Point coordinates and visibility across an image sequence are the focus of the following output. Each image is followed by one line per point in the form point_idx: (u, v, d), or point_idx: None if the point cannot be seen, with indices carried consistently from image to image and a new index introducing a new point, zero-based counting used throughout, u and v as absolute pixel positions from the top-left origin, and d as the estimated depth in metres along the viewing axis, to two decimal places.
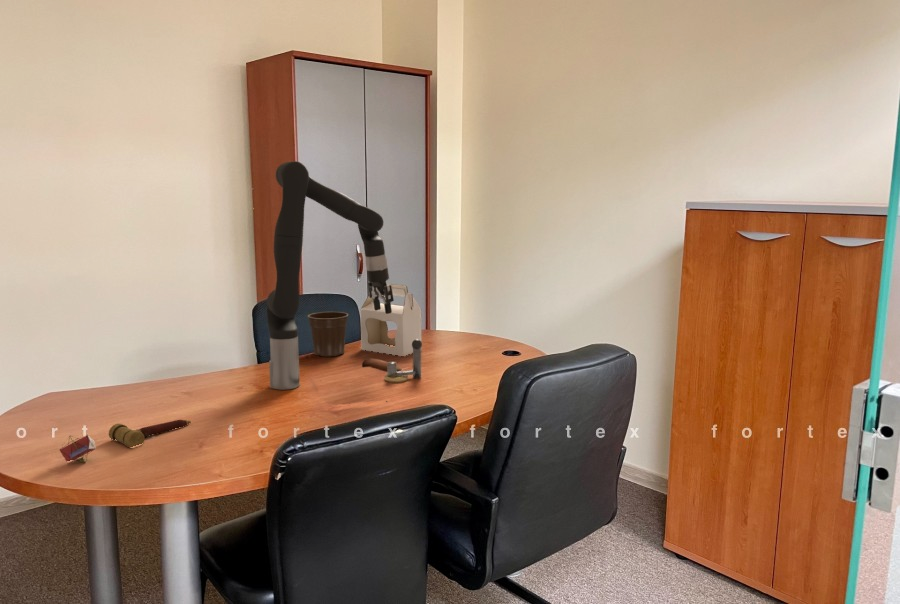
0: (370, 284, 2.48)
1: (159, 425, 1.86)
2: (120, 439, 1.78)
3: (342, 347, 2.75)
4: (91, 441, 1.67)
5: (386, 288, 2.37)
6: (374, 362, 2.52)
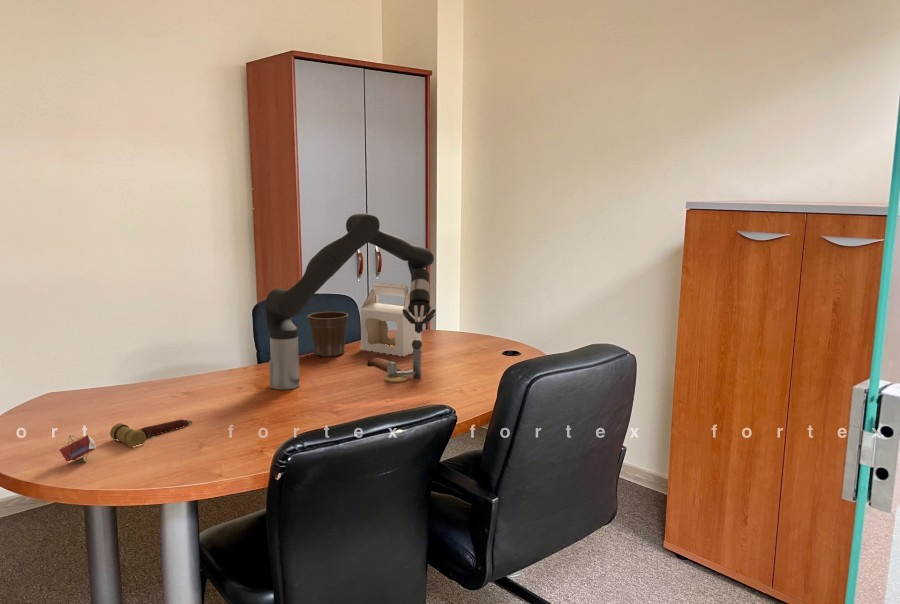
0: (405, 310, 2.54)
1: (160, 425, 1.86)
2: (121, 439, 1.78)
3: (342, 347, 2.75)
4: (91, 441, 1.67)
5: (434, 312, 2.54)
6: (377, 361, 2.53)
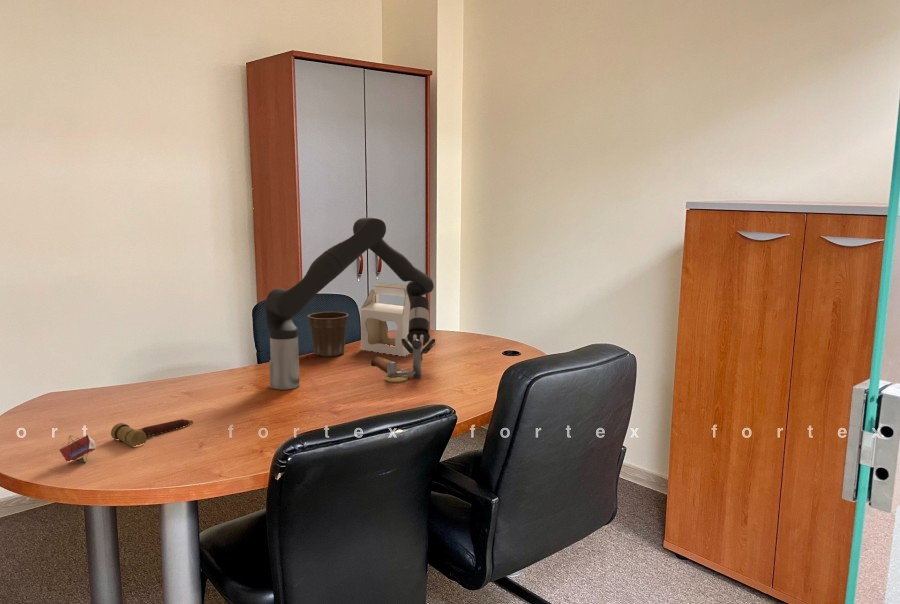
0: (404, 340, 2.48)
1: (161, 425, 1.86)
2: (122, 439, 1.78)
3: (342, 347, 2.75)
4: (91, 441, 1.67)
5: (434, 342, 2.47)
6: (378, 361, 2.54)
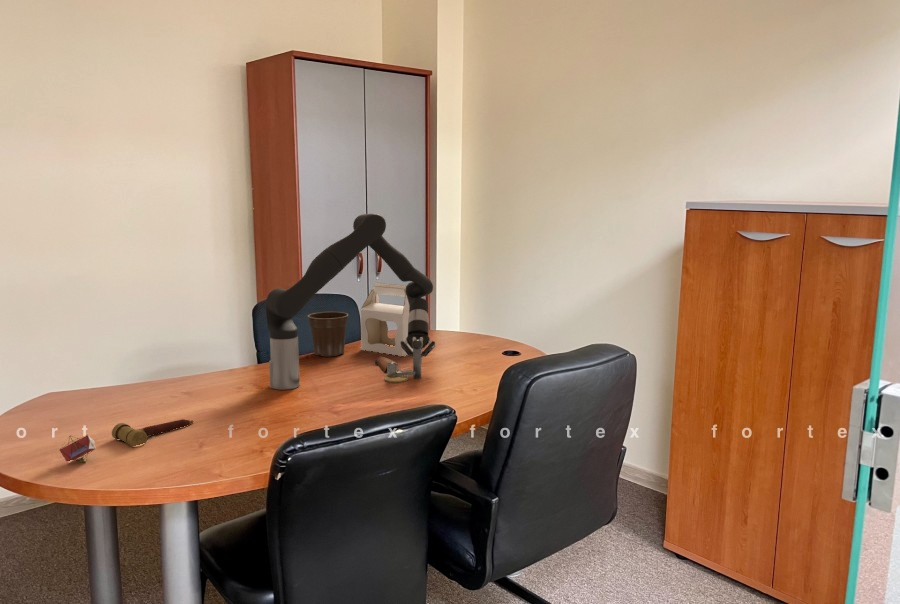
0: (404, 342, 2.44)
1: (162, 425, 1.87)
2: (122, 438, 1.78)
3: (342, 347, 2.75)
4: (91, 441, 1.67)
5: (434, 344, 2.43)
6: (380, 360, 2.55)
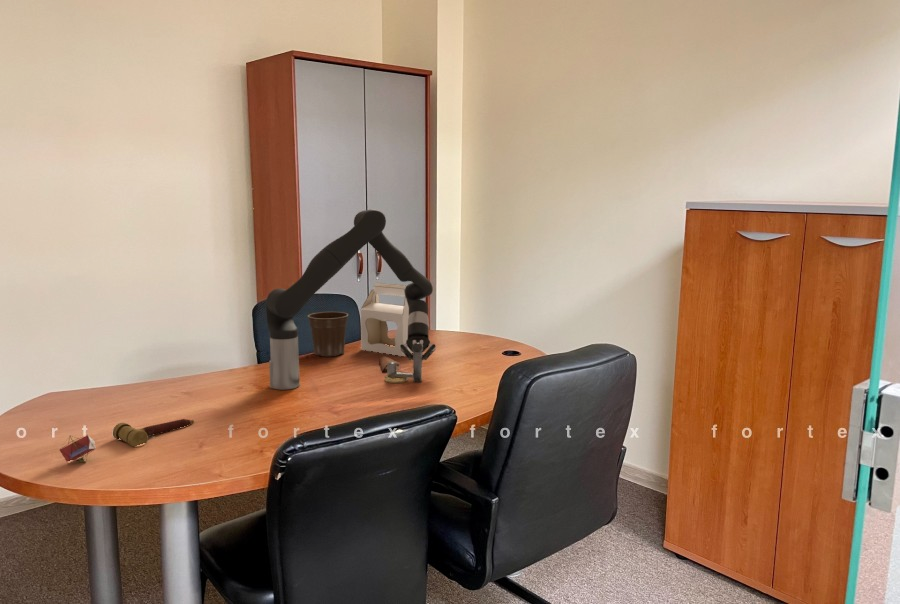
0: (403, 345, 2.39)
1: (163, 424, 1.87)
2: (123, 438, 1.78)
3: (342, 347, 2.75)
4: (91, 441, 1.67)
5: (434, 347, 2.39)
6: (382, 360, 2.55)
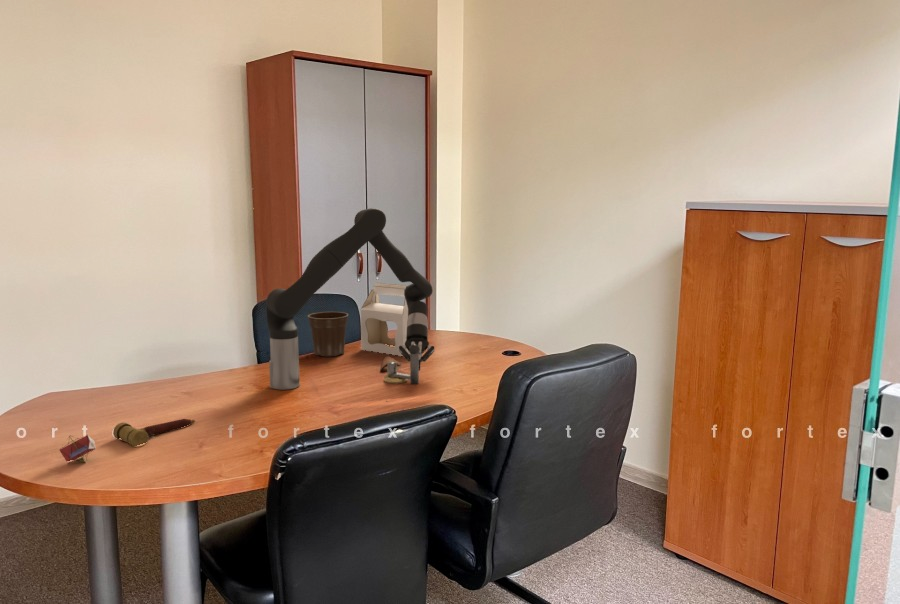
0: (402, 347, 2.37)
1: (163, 424, 1.87)
2: (124, 438, 1.79)
3: (342, 347, 2.75)
4: (91, 441, 1.67)
5: (433, 349, 2.36)
6: (384, 360, 2.55)
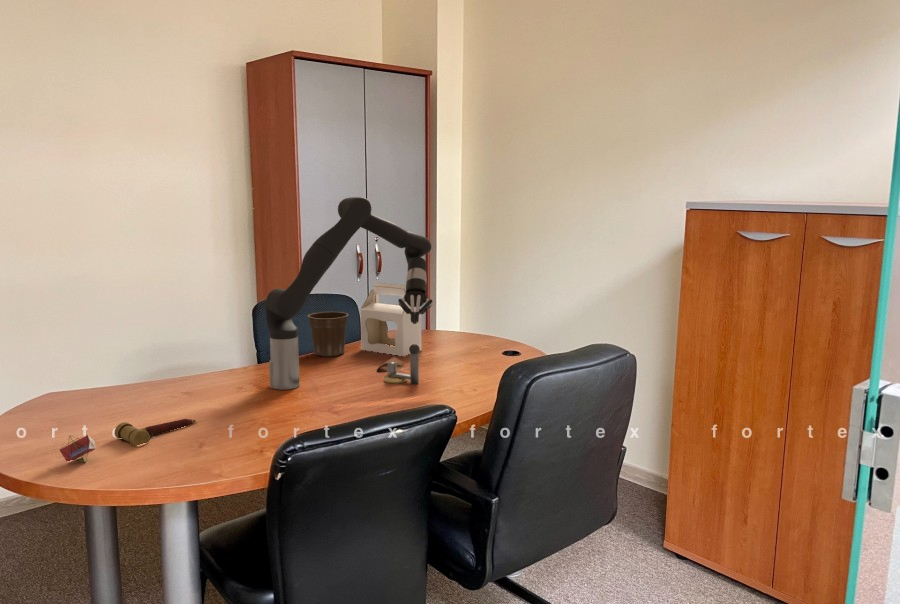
0: (401, 300, 2.46)
1: (164, 424, 1.87)
2: (125, 438, 1.79)
3: (342, 347, 2.75)
4: (91, 441, 1.67)
5: (431, 302, 2.46)
6: (388, 360, 2.56)
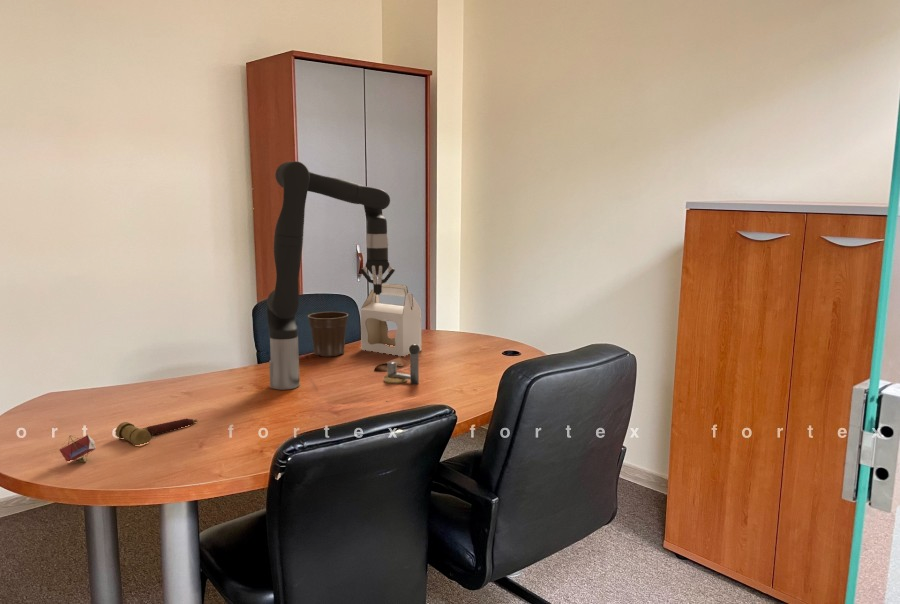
0: (363, 269, 2.43)
1: (166, 424, 1.87)
2: (126, 438, 1.79)
3: (342, 347, 2.75)
4: (91, 441, 1.67)
5: (393, 272, 2.43)
6: None
